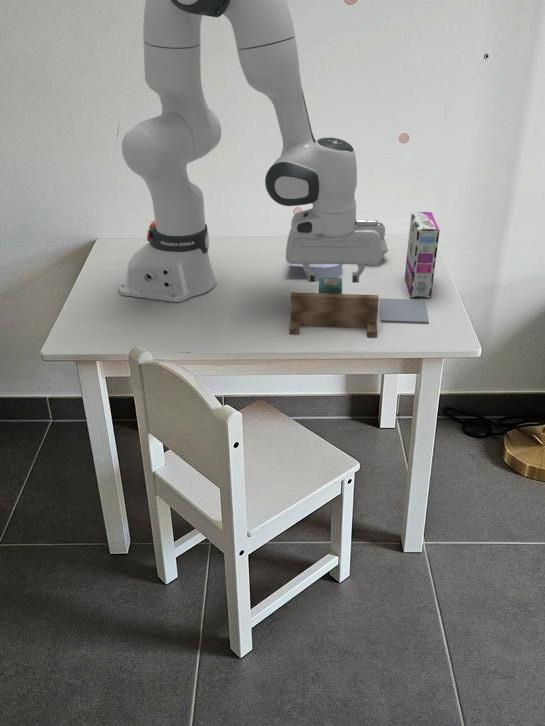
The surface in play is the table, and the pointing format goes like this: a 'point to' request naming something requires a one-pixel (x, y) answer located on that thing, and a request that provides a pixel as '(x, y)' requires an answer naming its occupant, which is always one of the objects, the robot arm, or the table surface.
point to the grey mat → (403, 311)
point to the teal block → (330, 285)
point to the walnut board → (334, 311)
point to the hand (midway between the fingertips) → (333, 281)
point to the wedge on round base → (323, 270)
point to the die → (384, 247)
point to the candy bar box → (421, 254)
